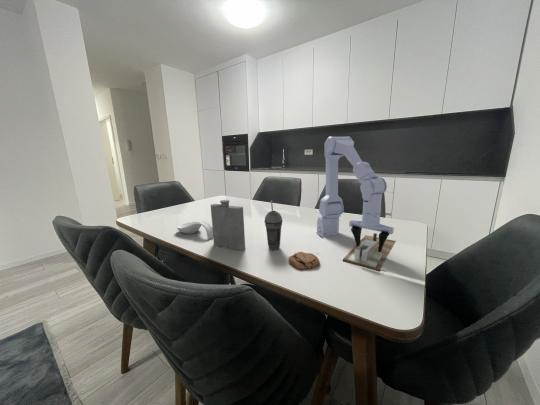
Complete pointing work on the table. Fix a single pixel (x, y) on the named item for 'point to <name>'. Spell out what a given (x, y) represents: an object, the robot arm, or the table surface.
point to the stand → (376, 259)
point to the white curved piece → (196, 228)
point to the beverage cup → (273, 228)
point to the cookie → (304, 260)
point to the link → (365, 250)
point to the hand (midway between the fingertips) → (368, 248)
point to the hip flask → (228, 225)
